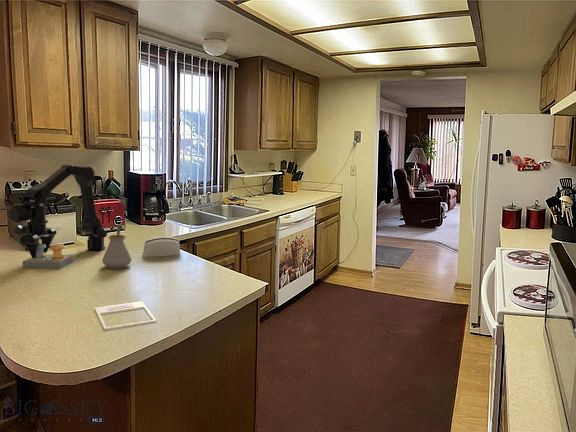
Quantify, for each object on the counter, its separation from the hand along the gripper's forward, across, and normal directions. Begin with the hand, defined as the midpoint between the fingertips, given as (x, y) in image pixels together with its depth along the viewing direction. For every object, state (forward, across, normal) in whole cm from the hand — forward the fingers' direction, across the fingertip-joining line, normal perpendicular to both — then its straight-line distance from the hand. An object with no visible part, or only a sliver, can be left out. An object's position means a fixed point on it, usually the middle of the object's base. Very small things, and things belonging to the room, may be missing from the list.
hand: (39, 255), depth 194 cm
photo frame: (+4, +52, +53) cm, 74 cm away
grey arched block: (+4, -21, +45) cm, 50 cm away
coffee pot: (+4, -5, +31) cm, 31 cm away
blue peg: (+4, 0, 0) cm, 4 cm away
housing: (+4, 0, +4) cm, 5 cm away
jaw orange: (+4, 0, +8) cm, 8 cm away
